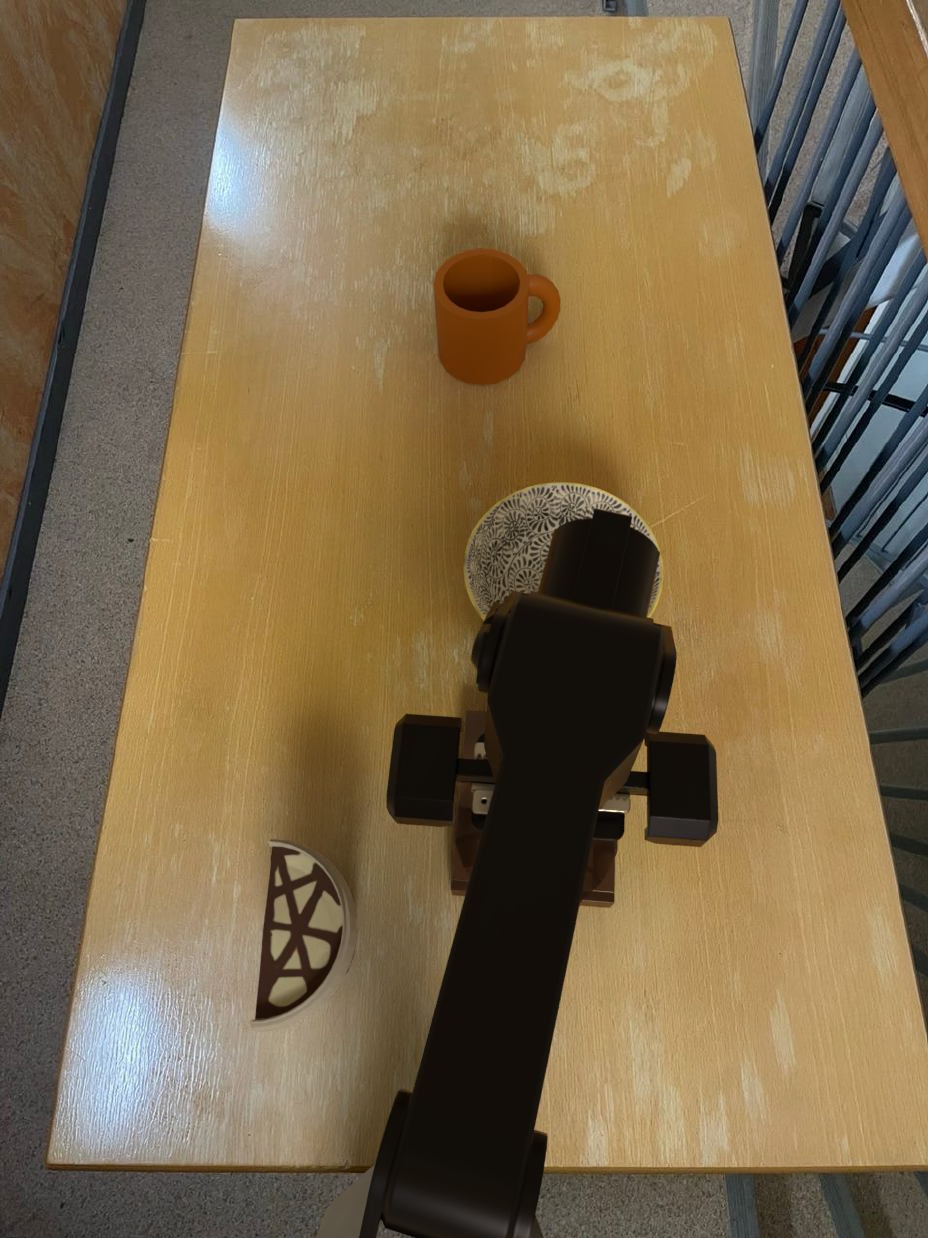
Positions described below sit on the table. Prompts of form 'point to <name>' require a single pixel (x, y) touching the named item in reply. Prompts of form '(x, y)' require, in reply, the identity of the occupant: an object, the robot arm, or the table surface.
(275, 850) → the food container
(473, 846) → the holder
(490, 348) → the mug
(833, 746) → the table surface
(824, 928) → the table surface
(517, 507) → the bowl
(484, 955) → the robot arm
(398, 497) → the table surface
